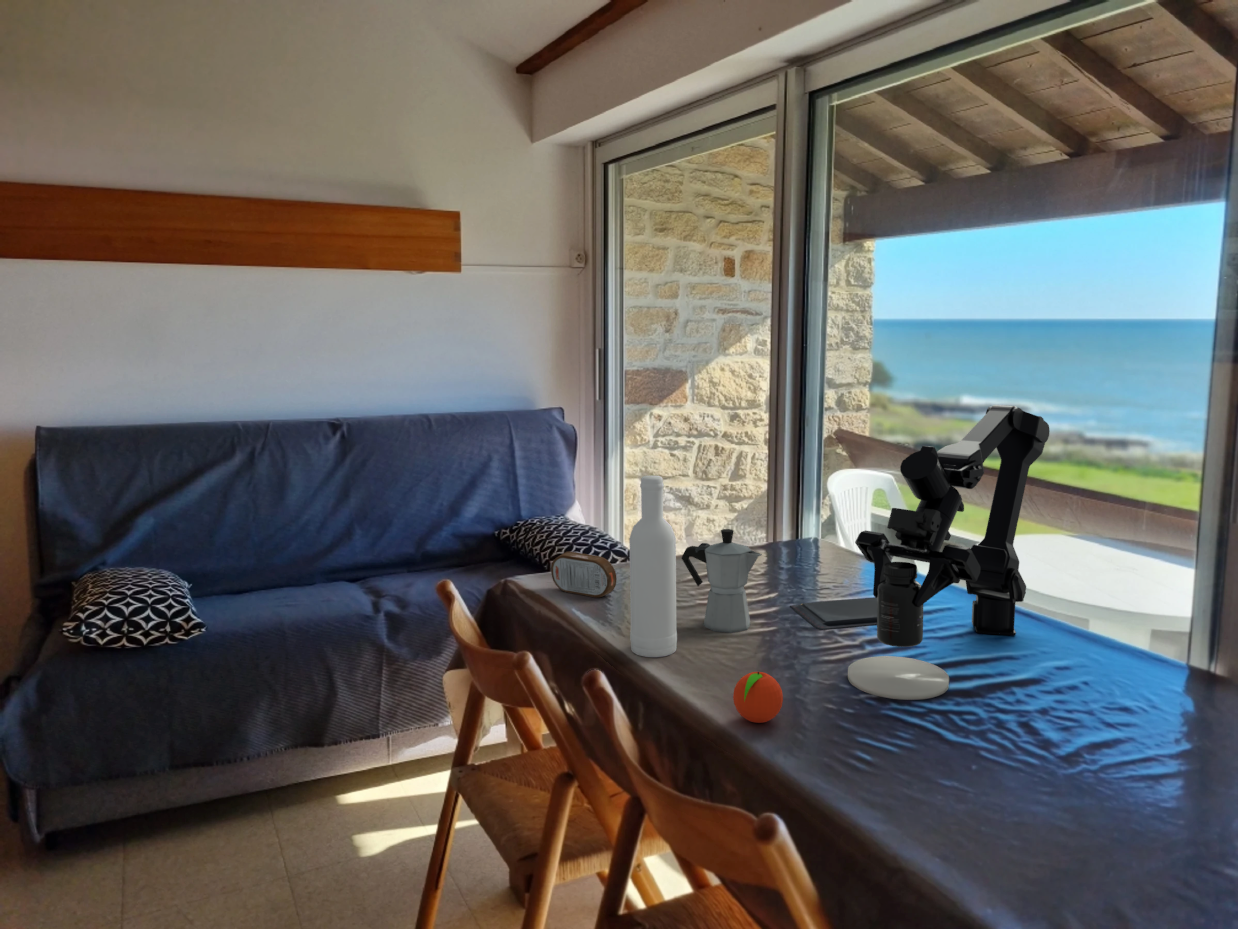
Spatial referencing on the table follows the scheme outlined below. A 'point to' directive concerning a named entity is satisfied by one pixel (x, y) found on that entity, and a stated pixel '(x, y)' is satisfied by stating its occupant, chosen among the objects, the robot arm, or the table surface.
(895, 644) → the supplement bottle
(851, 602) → the dark grey flat block
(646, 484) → the bottle
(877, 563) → the robot arm
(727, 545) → the coffee maker
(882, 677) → the saucer
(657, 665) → the table surface
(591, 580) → the tin
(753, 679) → the clementine
